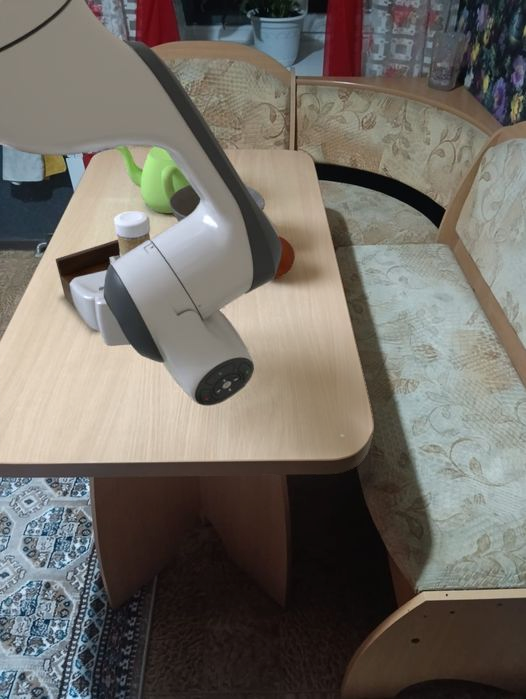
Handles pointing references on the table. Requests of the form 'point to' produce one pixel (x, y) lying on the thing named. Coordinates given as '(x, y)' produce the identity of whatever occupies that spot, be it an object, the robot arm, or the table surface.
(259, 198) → the bowl
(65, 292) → the shelf
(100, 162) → the table surface
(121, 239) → the sprinkles bottle
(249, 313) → the table surface
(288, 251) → the fruit
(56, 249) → the table surface
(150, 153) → the teapot
